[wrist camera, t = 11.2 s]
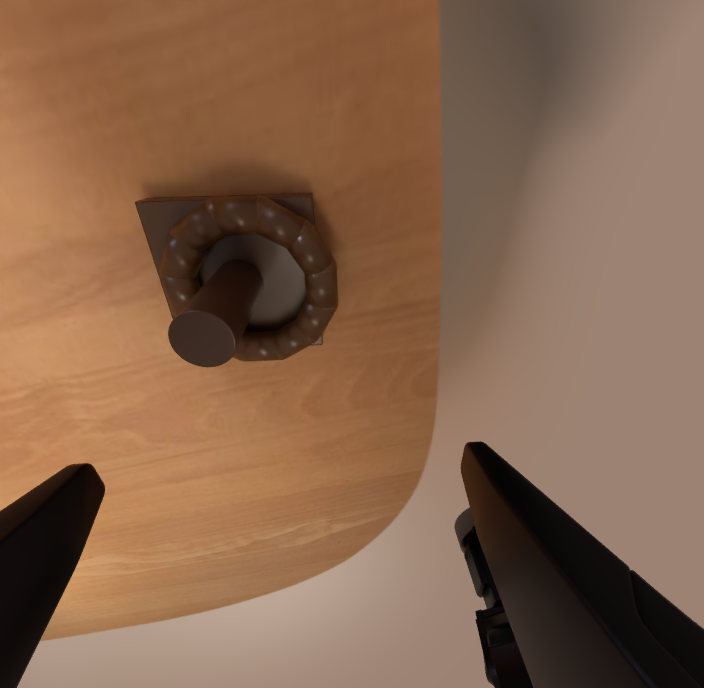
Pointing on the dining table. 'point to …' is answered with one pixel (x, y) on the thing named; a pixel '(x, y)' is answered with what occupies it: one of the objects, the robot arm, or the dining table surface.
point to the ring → (276, 226)
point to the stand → (230, 281)
